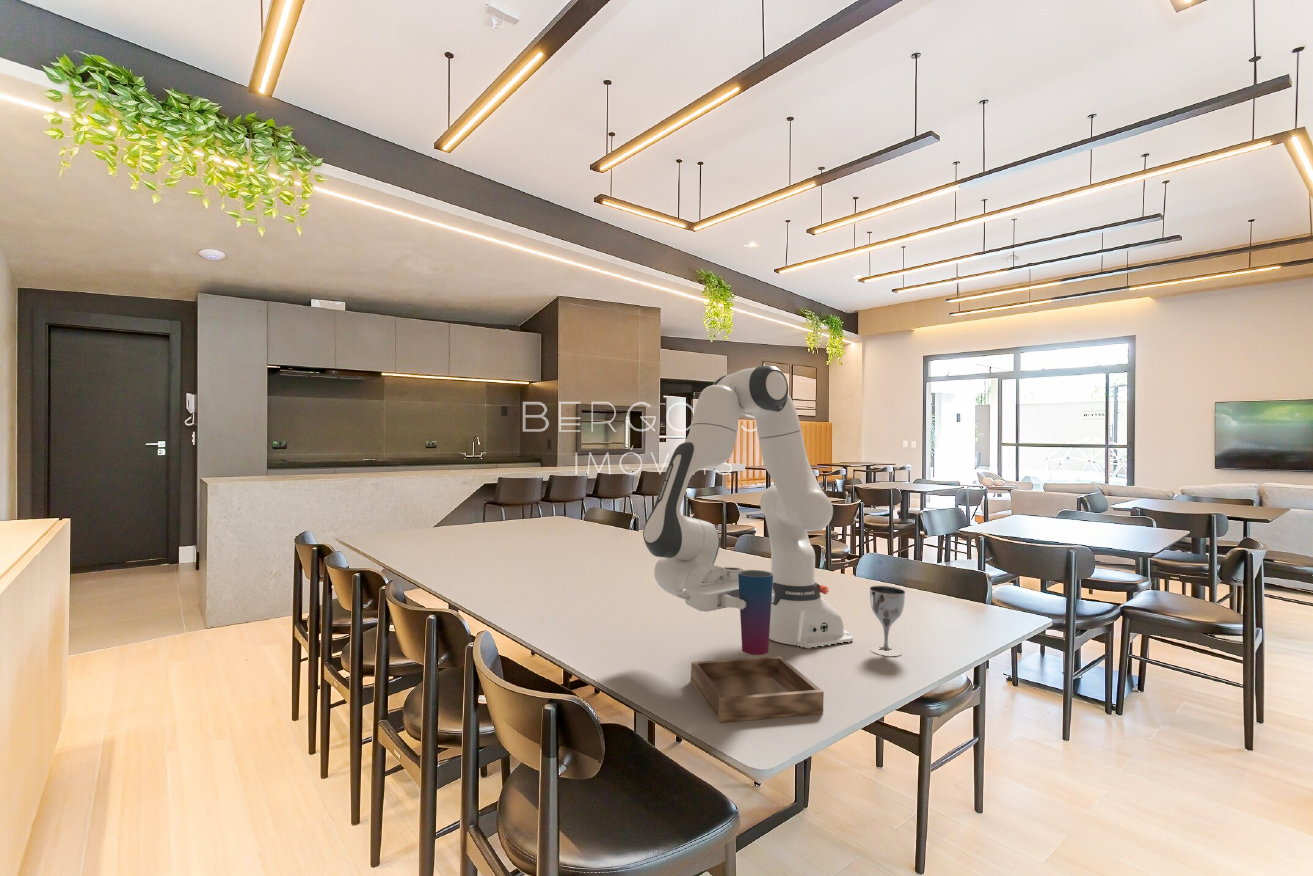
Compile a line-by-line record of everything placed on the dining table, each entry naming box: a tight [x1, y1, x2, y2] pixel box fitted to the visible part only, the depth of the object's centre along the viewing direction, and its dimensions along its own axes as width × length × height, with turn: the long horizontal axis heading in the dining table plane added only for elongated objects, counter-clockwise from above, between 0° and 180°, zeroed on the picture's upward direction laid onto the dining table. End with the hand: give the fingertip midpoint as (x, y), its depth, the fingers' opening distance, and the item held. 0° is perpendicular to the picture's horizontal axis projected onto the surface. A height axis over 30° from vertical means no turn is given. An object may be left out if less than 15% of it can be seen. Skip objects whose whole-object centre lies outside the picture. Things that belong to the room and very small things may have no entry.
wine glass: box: [869, 585, 906, 651], centre depth 140 cm, size 8×8×15 cm
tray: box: [690, 656, 825, 724], centre depth 113 cm, size 20×18×4 cm
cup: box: [738, 569, 773, 656], centre depth 113 cm, size 7×7×15 cm
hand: (758, 602), depth 113 cm, fingers closed on cup, 6 cm apart
